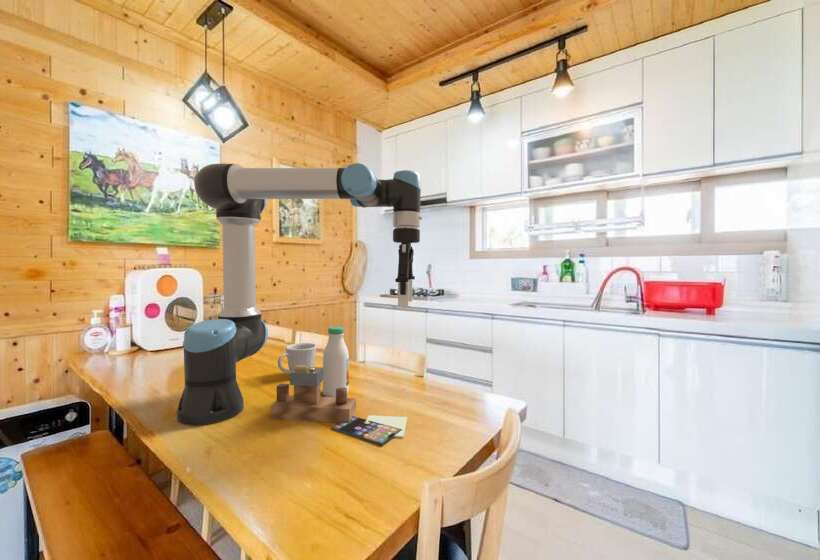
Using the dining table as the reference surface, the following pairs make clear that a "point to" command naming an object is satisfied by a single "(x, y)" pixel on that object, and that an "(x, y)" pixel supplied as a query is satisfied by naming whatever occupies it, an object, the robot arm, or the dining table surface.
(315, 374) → the lever cap
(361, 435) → the smartphone
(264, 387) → the dining table surface
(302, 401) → the wooden peg board
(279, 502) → the dining table surface
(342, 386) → the milk bottle
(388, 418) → the thin cream card
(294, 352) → the mug
